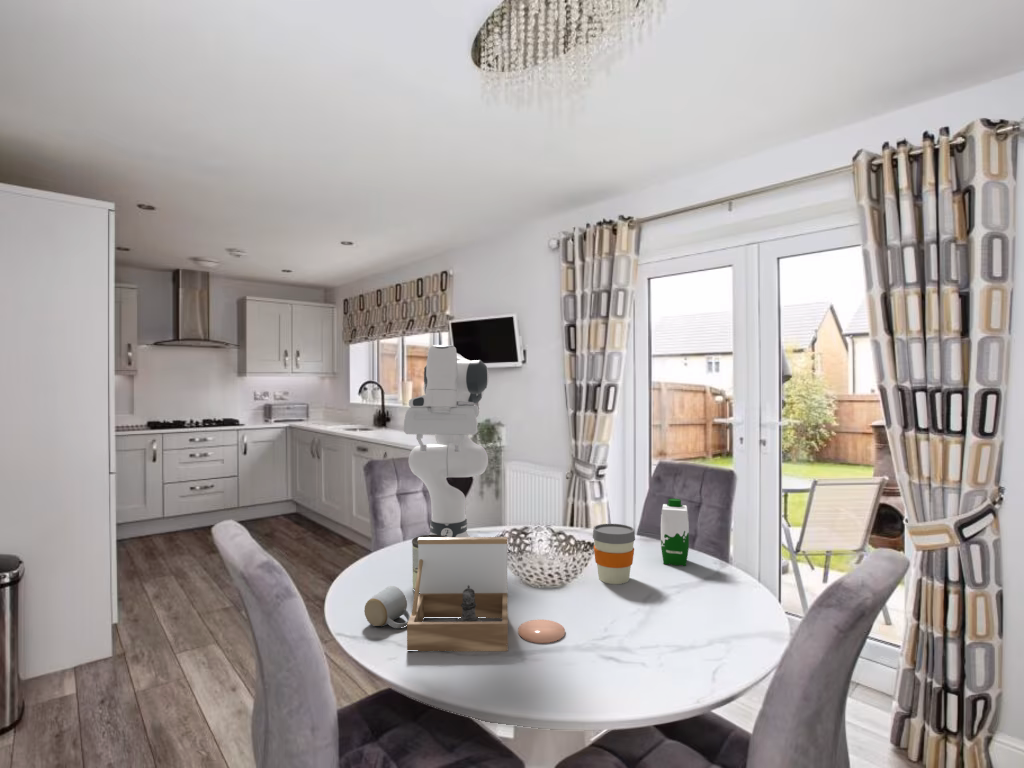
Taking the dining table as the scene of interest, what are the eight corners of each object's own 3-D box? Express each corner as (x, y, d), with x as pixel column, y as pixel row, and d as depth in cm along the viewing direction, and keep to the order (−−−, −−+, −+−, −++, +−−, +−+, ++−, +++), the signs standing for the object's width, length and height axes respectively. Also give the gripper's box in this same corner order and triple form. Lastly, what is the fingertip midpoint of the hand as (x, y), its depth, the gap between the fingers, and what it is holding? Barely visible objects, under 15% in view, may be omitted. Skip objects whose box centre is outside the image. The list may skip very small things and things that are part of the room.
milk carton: (688, 558, 183) (688, 498, 183) (689, 567, 174) (688, 504, 174) (661, 556, 186) (661, 497, 185) (660, 565, 177) (660, 503, 177)
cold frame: (419, 616, 138) (419, 592, 138) (507, 616, 138) (507, 592, 138) (407, 651, 120) (407, 624, 120) (507, 651, 120) (507, 623, 120)
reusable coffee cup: (639, 586, 158) (639, 534, 158) (595, 586, 158) (595, 534, 158) (630, 571, 171) (630, 523, 171) (590, 571, 171) (590, 523, 171)
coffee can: (417, 581, 163) (417, 533, 163) (451, 582, 162) (451, 534, 162) (407, 594, 152) (407, 544, 152) (443, 596, 151) (443, 545, 151)
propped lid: (420, 594, 138) (420, 534, 138) (507, 593, 139) (507, 534, 139) (410, 617, 125) (410, 551, 124) (507, 617, 125) (507, 551, 125)
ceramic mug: (361, 625, 133) (362, 594, 133) (383, 612, 140) (383, 582, 140) (397, 635, 128) (397, 602, 128) (417, 621, 136) (418, 590, 136)
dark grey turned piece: (468, 628, 131) (468, 578, 131) (486, 635, 128) (486, 584, 128) (450, 637, 127) (450, 585, 127) (469, 645, 123) (469, 591, 123)
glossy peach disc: (517, 622, 135) (517, 619, 135) (562, 621, 135) (562, 619, 135) (518, 643, 124) (518, 640, 124) (567, 643, 124) (567, 640, 124)
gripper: (479, 402, 156) (478, 451, 154) (407, 402, 156) (406, 451, 154) (478, 400, 150) (477, 451, 148) (403, 400, 150) (401, 451, 148)
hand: (440, 451), depth 151 cm, fingers open, 8 cm apart
